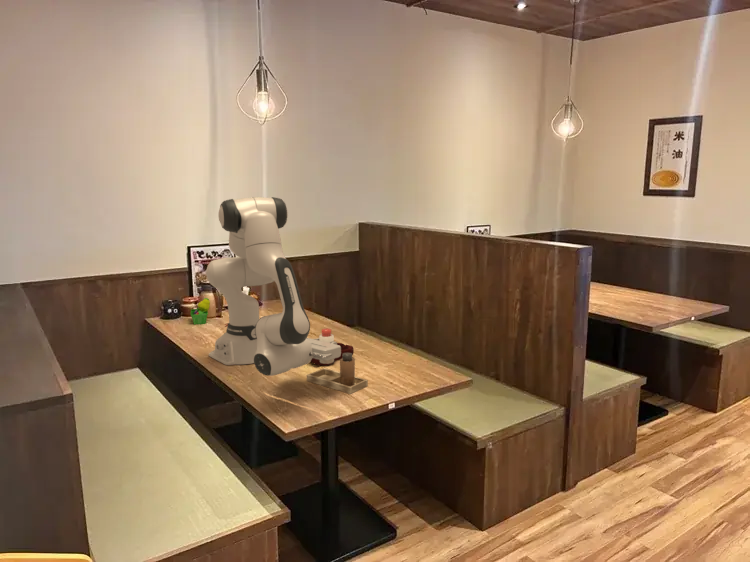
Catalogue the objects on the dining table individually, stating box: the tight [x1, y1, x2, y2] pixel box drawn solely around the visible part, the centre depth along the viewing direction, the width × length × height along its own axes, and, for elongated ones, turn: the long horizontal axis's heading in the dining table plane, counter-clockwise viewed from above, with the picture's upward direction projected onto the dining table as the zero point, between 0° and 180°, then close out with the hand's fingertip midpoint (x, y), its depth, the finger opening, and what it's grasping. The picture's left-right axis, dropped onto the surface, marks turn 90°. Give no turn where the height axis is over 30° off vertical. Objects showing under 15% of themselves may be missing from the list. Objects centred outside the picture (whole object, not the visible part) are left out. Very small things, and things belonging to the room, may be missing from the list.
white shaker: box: [318, 328, 335, 365], centre depth 192 cm, size 5×5×11 cm
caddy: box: [306, 367, 369, 395], centre depth 192 cm, size 19×9×3 cm, turn 53°
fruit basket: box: [190, 297, 211, 326], centre depth 270 cm, size 11×9×11 cm
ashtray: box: [311, 342, 355, 367], centre depth 219 cm, size 18×16×5 cm
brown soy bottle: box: [339, 353, 356, 386], centre depth 189 cm, size 5×5×11 cm
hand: (328, 342), depth 193 cm, fingers closed on white shaker, 5 cm apart
